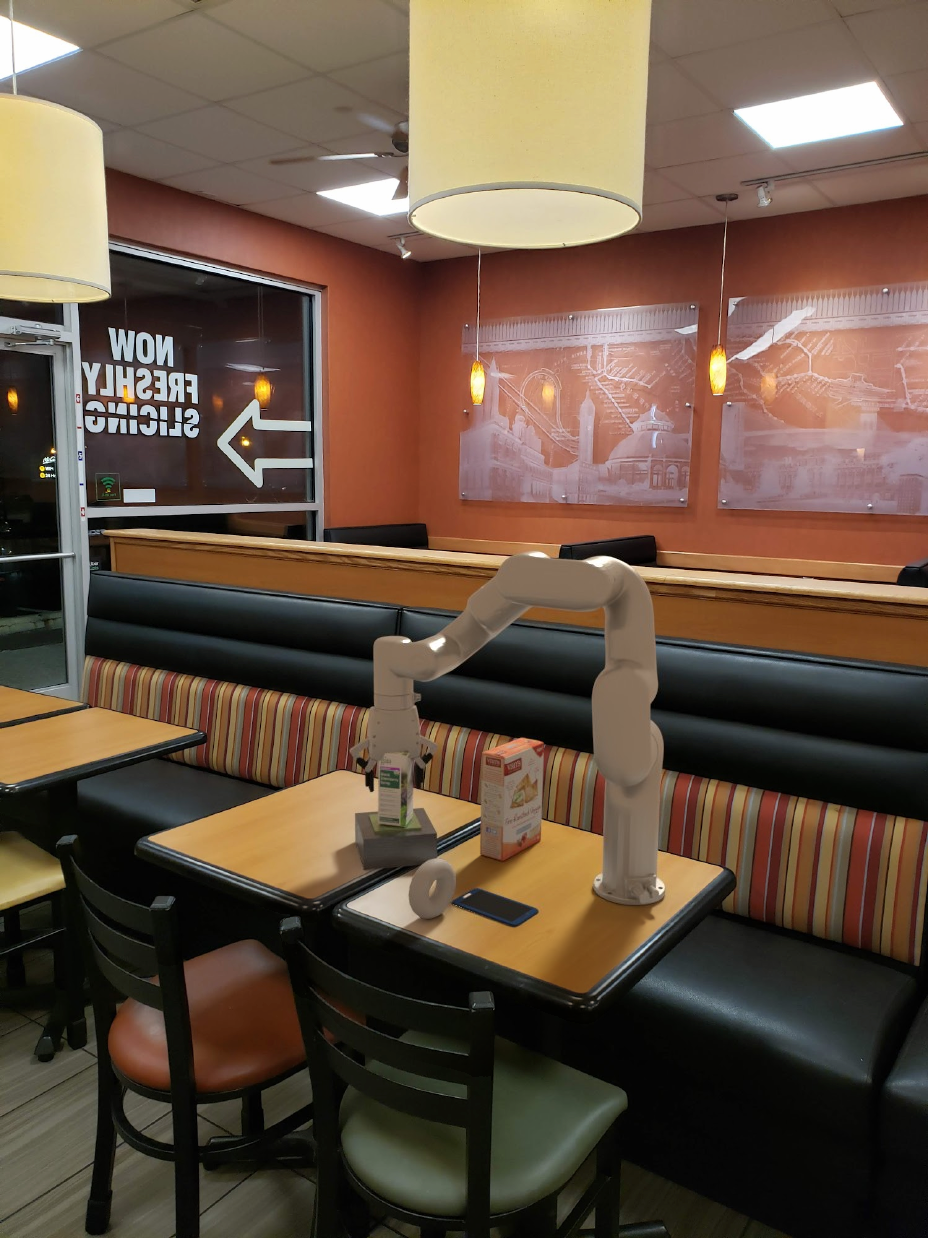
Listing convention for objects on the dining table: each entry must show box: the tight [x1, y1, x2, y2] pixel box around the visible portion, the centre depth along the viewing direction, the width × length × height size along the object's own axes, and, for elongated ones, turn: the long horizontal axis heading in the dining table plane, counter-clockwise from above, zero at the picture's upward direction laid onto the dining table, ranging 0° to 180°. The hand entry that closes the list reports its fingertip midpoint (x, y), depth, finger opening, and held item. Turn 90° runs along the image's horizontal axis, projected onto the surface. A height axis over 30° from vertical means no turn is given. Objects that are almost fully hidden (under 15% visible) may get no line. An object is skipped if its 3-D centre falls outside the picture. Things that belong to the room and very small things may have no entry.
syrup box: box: [377, 751, 415, 827], centre depth 175 cm, size 6×6×14 cm
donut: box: [408, 857, 457, 920], centre depth 150 cm, size 10×4×10 cm, turn 139°
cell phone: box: [450, 887, 539, 928], centre depth 155 cm, size 7×14×1 cm, turn 52°
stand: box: [354, 807, 438, 871], centre depth 177 cm, size 14×14×6 cm
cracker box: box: [479, 737, 545, 862], centre depth 178 cm, size 14×6×21 cm, turn 143°
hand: (394, 788), depth 176 cm, fingers open, 8 cm apart
